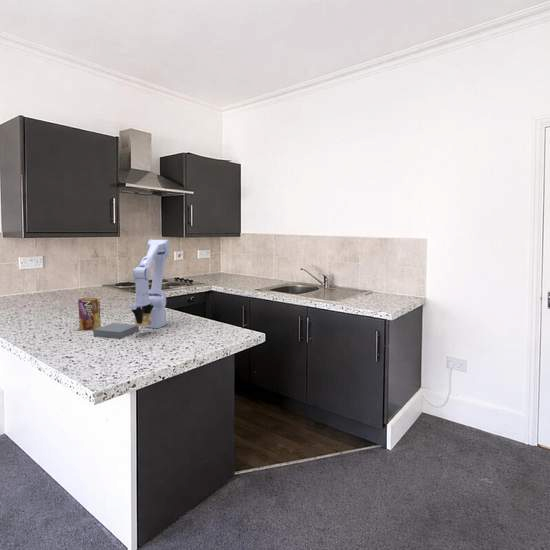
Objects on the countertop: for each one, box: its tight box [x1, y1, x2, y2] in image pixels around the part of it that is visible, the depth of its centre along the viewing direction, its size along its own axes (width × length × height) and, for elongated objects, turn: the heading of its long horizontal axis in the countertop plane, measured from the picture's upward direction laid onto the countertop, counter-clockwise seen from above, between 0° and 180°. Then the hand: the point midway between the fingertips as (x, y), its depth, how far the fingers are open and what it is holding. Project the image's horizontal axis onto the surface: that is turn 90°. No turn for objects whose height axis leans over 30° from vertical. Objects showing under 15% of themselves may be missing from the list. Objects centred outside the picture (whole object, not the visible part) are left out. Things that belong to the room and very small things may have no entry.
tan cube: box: [134, 313, 151, 328], centre depth 181 cm, size 5×5×5 cm
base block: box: [92, 322, 140, 340], centre depth 182 cm, size 14×14×3 cm
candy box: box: [77, 296, 102, 331], centre depth 189 cm, size 9×4×15 cm, turn 100°
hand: (143, 322), depth 181 cm, fingers closed on tan cube, 5 cm apart
